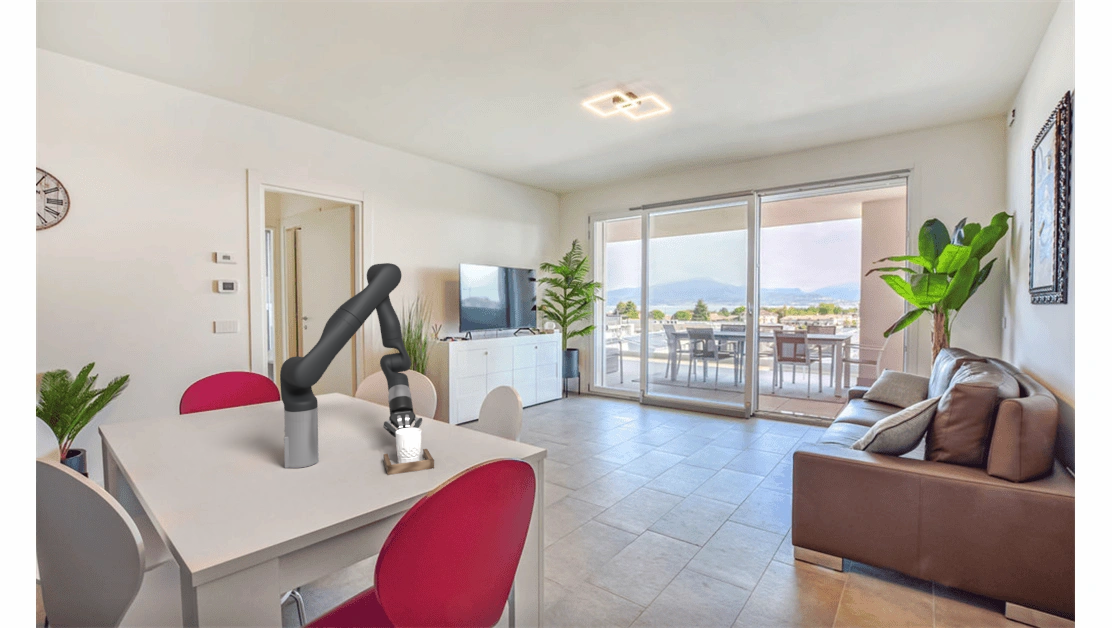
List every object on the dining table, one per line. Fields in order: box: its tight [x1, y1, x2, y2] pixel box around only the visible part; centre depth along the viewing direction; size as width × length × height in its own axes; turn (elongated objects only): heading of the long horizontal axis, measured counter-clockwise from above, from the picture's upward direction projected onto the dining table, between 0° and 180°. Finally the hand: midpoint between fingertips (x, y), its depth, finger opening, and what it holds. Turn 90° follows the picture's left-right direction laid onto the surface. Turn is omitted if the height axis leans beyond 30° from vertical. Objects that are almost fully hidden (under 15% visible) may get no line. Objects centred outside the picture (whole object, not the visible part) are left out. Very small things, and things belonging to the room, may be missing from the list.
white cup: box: [395, 427, 423, 464], centre depth 155 cm, size 8×8×10 cm
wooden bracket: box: [383, 448, 435, 476], centre depth 153 cm, size 13×12×2 cm
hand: (406, 446), depth 159 cm, fingers closed
